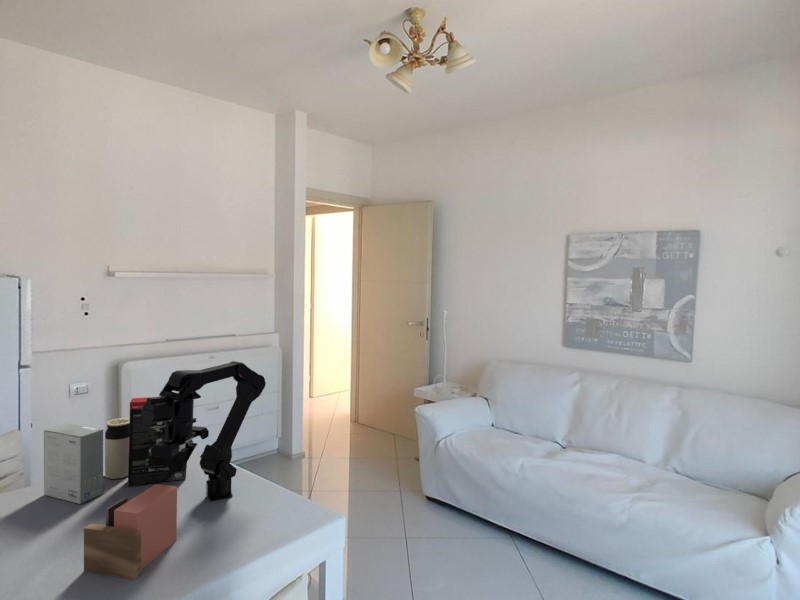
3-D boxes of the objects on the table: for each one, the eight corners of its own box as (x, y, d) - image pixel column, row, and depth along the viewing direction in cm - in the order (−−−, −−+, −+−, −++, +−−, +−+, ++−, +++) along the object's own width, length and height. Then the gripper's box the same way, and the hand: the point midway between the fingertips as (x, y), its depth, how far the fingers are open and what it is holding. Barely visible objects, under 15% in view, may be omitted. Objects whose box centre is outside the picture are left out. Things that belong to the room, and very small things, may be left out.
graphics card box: (187, 472, 163) (188, 393, 162) (187, 480, 157) (188, 398, 155) (130, 479, 156) (130, 396, 155) (127, 488, 150) (128, 402, 148)
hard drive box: (104, 494, 145) (104, 429, 144) (80, 505, 138) (80, 437, 137) (67, 484, 150) (67, 422, 149) (42, 495, 143) (42, 429, 142)
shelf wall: (91, 565, 111) (91, 523, 110) (141, 574, 108) (141, 531, 108) (83, 571, 109) (83, 528, 108) (134, 579, 106) (134, 535, 106)
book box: (155, 537, 123) (156, 484, 123) (176, 540, 122) (177, 486, 121) (113, 569, 109) (114, 510, 109) (137, 573, 108) (137, 513, 108)
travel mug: (132, 477, 158) (133, 423, 157) (104, 481, 154) (104, 426, 153) (132, 468, 164) (133, 416, 164) (105, 472, 161) (105, 419, 160)
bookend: (110, 551, 116) (111, 494, 116) (127, 553, 116) (127, 497, 115) (90, 565, 111) (90, 506, 110) (108, 568, 110) (108, 509, 109)
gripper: (176, 405, 145) (174, 456, 146) (132, 422, 127) (131, 480, 127) (210, 408, 143) (208, 460, 144) (171, 426, 125) (169, 485, 125)
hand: (180, 470), depth 135 cm, fingers closed
